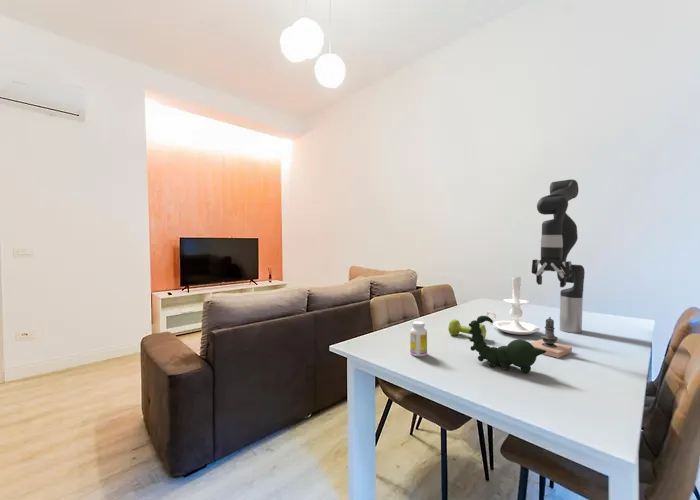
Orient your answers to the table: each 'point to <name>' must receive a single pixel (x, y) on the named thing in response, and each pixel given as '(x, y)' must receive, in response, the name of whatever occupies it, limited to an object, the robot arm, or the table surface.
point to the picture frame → (553, 349)
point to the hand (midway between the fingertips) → (550, 285)
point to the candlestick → (515, 314)
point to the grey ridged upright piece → (549, 334)
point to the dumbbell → (463, 328)
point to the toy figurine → (503, 349)
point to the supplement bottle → (418, 339)
